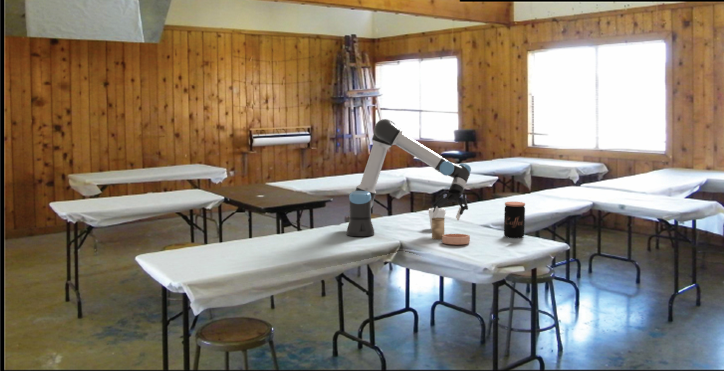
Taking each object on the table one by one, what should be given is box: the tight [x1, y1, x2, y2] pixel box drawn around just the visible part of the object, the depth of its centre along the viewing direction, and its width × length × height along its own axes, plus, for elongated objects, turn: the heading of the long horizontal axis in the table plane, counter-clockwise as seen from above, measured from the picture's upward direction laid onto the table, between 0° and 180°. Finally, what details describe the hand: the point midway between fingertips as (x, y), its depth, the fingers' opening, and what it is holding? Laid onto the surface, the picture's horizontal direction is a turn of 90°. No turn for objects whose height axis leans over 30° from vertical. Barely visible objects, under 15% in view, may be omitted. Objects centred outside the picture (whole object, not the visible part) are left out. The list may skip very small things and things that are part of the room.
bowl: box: [441, 233, 471, 246], centre depth 339 cm, size 14×14×4 cm
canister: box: [431, 217, 446, 241], centre depth 351 cm, size 7×7×11 cm
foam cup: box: [428, 207, 447, 230], centre depth 379 cm, size 10×9×13 cm
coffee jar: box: [503, 201, 526, 239], centre depth 358 cm, size 11×11×18 cm
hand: (445, 218), depth 355 cm, fingers open, 13 cm apart
